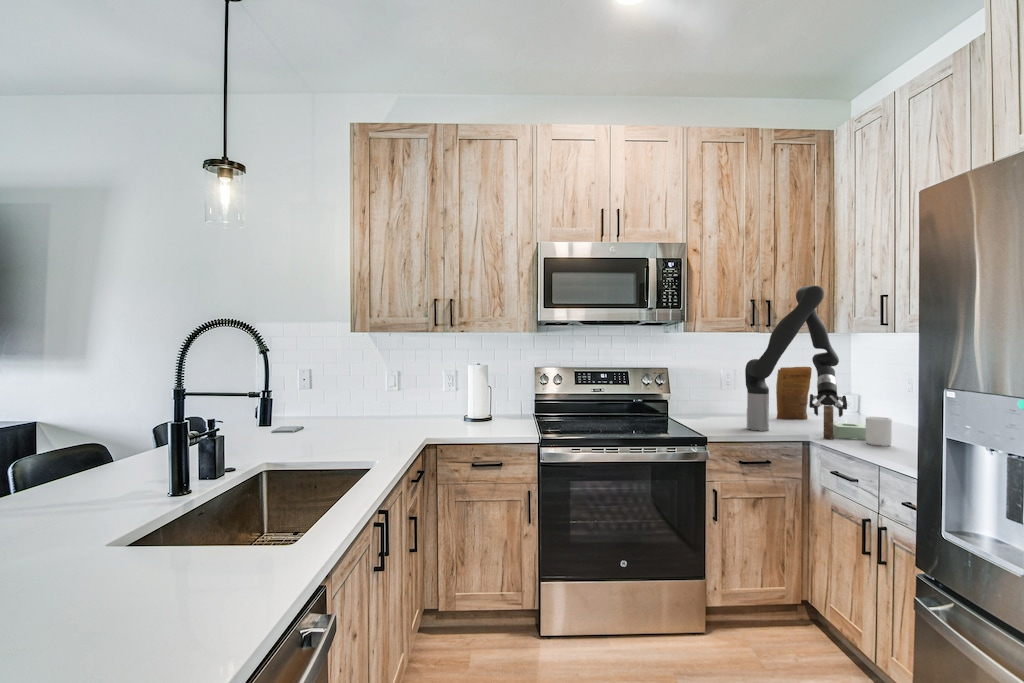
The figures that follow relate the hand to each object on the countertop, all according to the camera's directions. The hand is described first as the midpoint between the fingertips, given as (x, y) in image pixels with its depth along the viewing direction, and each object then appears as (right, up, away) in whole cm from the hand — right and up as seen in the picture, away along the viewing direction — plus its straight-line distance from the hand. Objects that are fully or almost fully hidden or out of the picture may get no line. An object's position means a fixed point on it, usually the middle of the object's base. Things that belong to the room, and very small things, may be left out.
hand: (828, 415), depth 224 cm
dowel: (-1, -10, -2) cm, 10 cm away
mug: (+12, -10, -12) cm, 20 cm away
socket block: (+11, -10, +3) cm, 15 cm away
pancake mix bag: (+12, -10, +51) cm, 53 cm away
